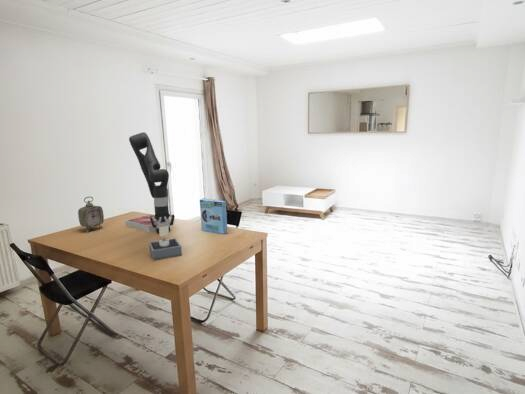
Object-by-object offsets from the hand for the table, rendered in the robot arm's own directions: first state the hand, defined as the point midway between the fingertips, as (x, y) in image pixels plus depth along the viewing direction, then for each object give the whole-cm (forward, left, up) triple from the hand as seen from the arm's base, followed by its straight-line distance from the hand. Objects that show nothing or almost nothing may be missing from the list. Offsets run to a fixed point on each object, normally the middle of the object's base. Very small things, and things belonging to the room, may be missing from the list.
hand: (163, 233), depth 185 cm
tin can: (0, 0, -11) cm, 11 cm away
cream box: (0, 0, -1) cm, 1 cm away
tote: (0, 0, -12) cm, 12 cm away
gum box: (-26, +38, -13) cm, 48 cm away
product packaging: (-65, -1, -13) cm, 66 cm away
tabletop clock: (-74, -40, -12) cm, 85 cm away
